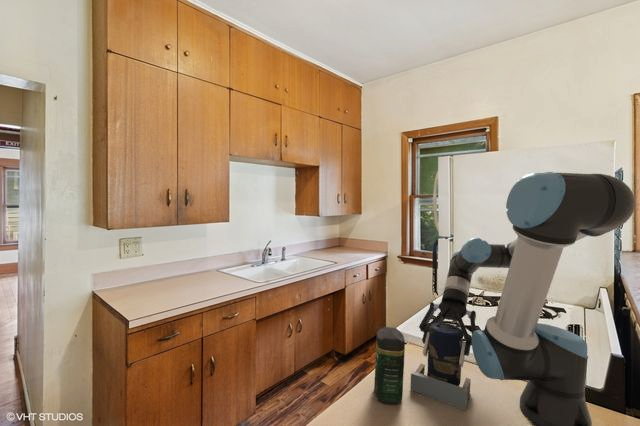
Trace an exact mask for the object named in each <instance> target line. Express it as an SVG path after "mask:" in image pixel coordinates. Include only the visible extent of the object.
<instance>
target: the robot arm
mask: <svg viewBox="0 0 640 426" xmlns="http://www.w3.org/2000/svg"><path fill="white" fill-rule="evenodd" d="M505 204H506V205H505V208H506V209H507V211H506V216H507V220H508V221H509V222H510V223H511V225H512V230H513V231H514V233H515V234H516V235H517V238H516V239H515V240H512V241H511V242H509V243H508V244H501V243H500V244H497V243H496V244H494V243H490V244H489V242H487V240H485V239H481V238H480V237H473V238H470V239H468V240H467V242H465V244H463V245H462V247H461V249H460V250H459V251H455V252H454V253H452V256H451V258H450V260H449V268H448V270H447V271H448V272H447V276H446V280H445V284H444V289H443V291H442V292H443V293H442V298H441V301H440V303H438V304H437V303H434V302H432V301H431V302H430V303H429V308H428V310H427V312H426V314H425V315H424V317H423V319H422V320H421V322H420V324H419V326H418V327H419V330H420V331H421V332H423V335H422V339H421V340H422V344H424V345H423V348H422V354H423V356H424V357H427V358H428V347H429V328H430V326H431V325H432V324H434V323H443V321H445V320H448V321H450V320H451V321H453V322H457V323H458V325H459V326H458V327H459V328H460V329H461V330H462V332H463V343H462V349H461V354H460V360H459V365H460V367H461V368H464V362H465V356H467V357H469V355H470V352H471V351H470V350H472V354H473V357H474V360H475V363H476V365H477V367H478V368H479V370H480V372H481V373H482V374H483V375H484V376H485V377H486V378H489V379H492V380H500V381H527V383H526V384H525V387H524V388H523V390H522V392H521V394H520V397H519V409H520V411H521V412H522V414H523V416H525V418H526V419H528V420H529V421H531V422H532V423H533V424H535V425H536V426H593V424H592V423H593V422H592V418H591V415H590V411H589V408H588V405H587V402H586V398H585V393H586V391H585V390H586V380H587V379H586V377H587V368H588V359H589V356H588V344H587V341H585V339H584V338H582V337H581V336H579V335H578V334H575V333H574V332H572V331H570V330H567V329H564V328H561V327H558V326H554V325H551V324H547V323H538V322H539V319H540V317H541V314H542V311H543V308H544V305H545V303H546V299H547V296H548V293H549V290H550V288H551V285H552V282H553V279H554V277H555V273H556V270H557V268H558V265H559V262H560V259H561V258H562V257H561V256H562V253H563V250H564V248H566V247H568V246H569V247H570V246H572V245H574V244H575V243H576V242H577V241H579V240H582V239H584V238H587V237H600V236H603V235H605V234H608V233H611V231H614V230H616V229H618V228H620V227H622V225H624V224H625V223H627V222H628V221H629V219H630V218H631V217H632V215H633V213H634V211H635V207H636V198H635V195H634V192H633V190H632V189H631V187H629V186H628V185H627V183H626V182H624V181H623V180H620V179H619V178H617V177H616V176H611V175H609V174H603V173H577V172H575V173H574V172H573V173H572V172H570V173H569V172H554V171H545V172H534V173H532V172H531V173H528V174H525V175H524V176H522V178H519V179H518V180H517V181H516V182H515V183H514V185H512V188H511V189H510V191H509V193H508V196H507V199H506V203H505ZM479 268H495V269H499V268H500V269H508V271H507V274H506V277H505V281H504V284H503V288H502V292H501V295H500V299H499V302H498V306H497V308H496V313H495V315H494V316H491V317H489V318H488V319H487V321H486V323H485V326H484V329H481V328H480V329H477V327H476V318H477V312H476V311H475V310H467V306H468V305H467V304H468V301H469V299H468V298H469V294H470V289H471V288H470V287H471V283H472V277H473V275H474V273H475V272H476V271H477V270H478V269H479ZM438 309H439V311H440V312H438V314H437V316H435V318H434V319H432V318H433V316H434V314H435V312H437V310H438ZM466 315H467V317H468V319H469V320H470V321H469V322H470V327H471V338H470V336H469V333H468V330H467V328H466V326H465V323H464V321H463V318H464V317H465V316H466ZM431 319H432V320H431ZM471 348H472V349H471Z"/></svg>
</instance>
